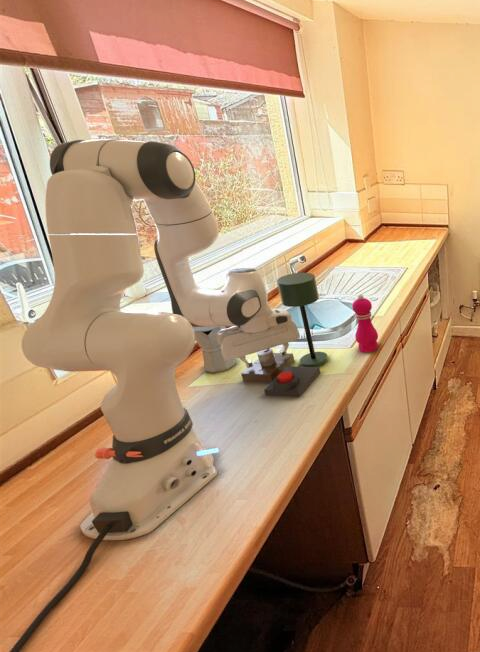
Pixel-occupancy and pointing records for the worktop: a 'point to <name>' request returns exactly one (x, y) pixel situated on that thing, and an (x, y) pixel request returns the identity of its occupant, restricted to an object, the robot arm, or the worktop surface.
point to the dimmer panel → (267, 369)
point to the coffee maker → (212, 349)
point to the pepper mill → (365, 325)
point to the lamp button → (285, 377)
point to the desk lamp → (302, 309)
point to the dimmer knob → (266, 357)
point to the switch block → (293, 382)
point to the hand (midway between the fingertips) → (267, 360)
